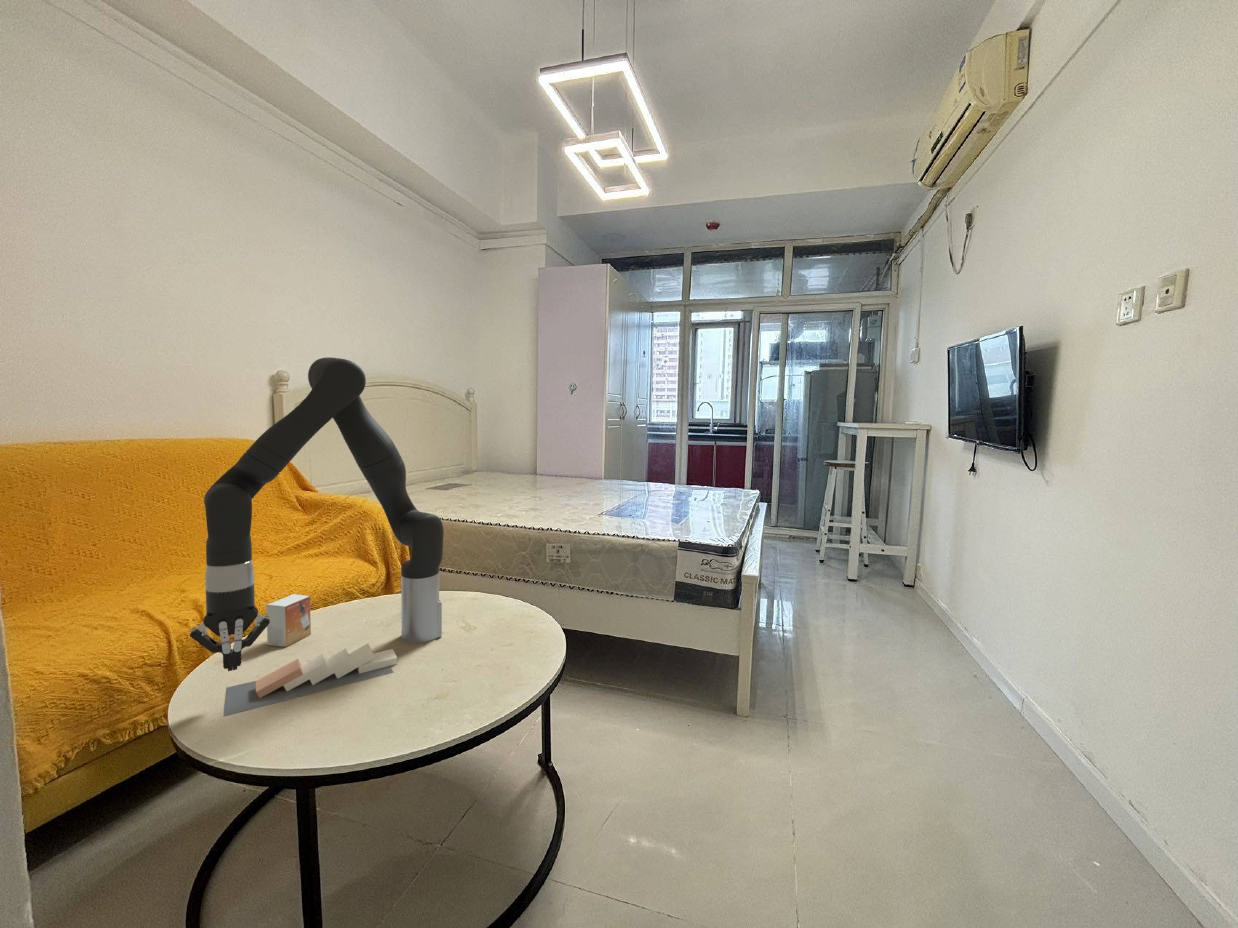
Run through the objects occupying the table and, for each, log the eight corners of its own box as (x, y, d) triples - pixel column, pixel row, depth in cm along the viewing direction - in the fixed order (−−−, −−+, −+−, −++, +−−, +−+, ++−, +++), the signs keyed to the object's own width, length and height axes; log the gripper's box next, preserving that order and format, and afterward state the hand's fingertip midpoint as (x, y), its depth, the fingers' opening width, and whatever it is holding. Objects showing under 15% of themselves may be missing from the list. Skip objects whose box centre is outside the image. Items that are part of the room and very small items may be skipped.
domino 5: (355, 664, 114) (392, 655, 119) (358, 673, 110) (397, 663, 115) (355, 657, 114) (392, 648, 119) (358, 666, 110) (397, 657, 115)
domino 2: (285, 680, 107) (325, 659, 111) (286, 691, 103) (328, 668, 107) (282, 675, 106) (322, 653, 110) (283, 685, 102) (325, 662, 106)
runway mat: (382, 652, 121) (382, 651, 121) (393, 673, 112) (393, 672, 111) (226, 689, 103) (226, 687, 103) (223, 718, 94) (223, 716, 94)
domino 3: (310, 674, 109) (348, 654, 113) (312, 685, 105) (351, 663, 109) (307, 669, 109) (345, 648, 113) (309, 679, 105) (348, 657, 109)
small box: (285, 648, 122) (284, 606, 121) (266, 645, 123) (265, 604, 122) (311, 634, 130) (310, 595, 129) (293, 631, 131) (292, 593, 130)
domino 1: (259, 687, 104) (301, 664, 108) (259, 698, 100) (303, 674, 104) (255, 681, 103) (297, 658, 108) (255, 692, 99) (299, 668, 104)
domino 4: (334, 669, 112) (370, 648, 116) (337, 678, 108) (374, 657, 112) (331, 663, 112) (367, 643, 116) (334, 673, 108) (372, 651, 112)
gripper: (183, 595, 90) (187, 686, 92) (272, 583, 98) (273, 667, 100) (187, 584, 96) (190, 669, 98) (270, 573, 104) (272, 653, 106)
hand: (232, 668), depth 99 cm, fingers closed
